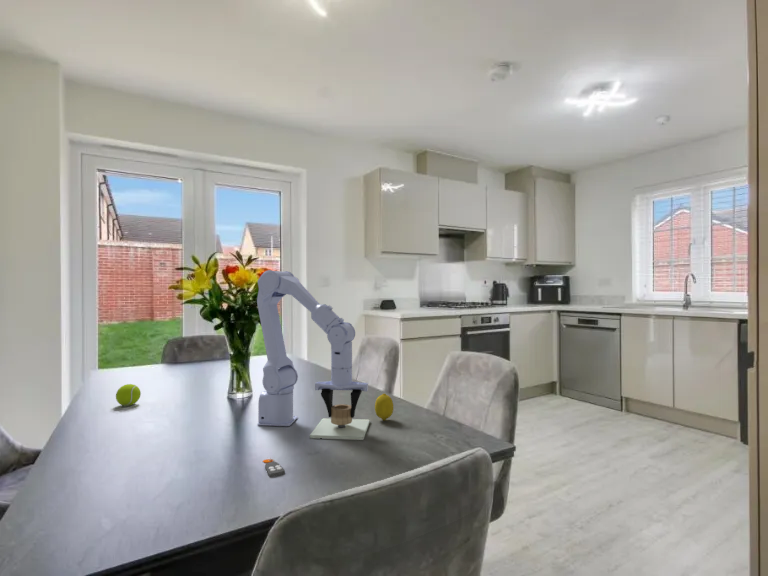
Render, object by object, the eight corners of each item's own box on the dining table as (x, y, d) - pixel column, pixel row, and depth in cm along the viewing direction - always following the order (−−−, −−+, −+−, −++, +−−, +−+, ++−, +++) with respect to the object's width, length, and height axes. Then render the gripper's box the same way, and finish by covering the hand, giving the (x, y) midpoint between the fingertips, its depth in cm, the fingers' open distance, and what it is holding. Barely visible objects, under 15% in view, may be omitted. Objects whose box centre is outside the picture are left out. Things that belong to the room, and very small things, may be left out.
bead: (329, 424, 112) (329, 409, 112) (333, 418, 118) (333, 404, 118) (349, 425, 111) (349, 410, 111) (353, 418, 117) (353, 404, 117)
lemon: (391, 424, 119) (391, 396, 119) (372, 422, 120) (372, 395, 120) (394, 418, 125) (395, 391, 125) (377, 417, 126) (377, 390, 126)
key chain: (287, 475, 88) (287, 468, 88) (269, 480, 86) (269, 472, 86) (271, 454, 99) (270, 448, 99) (255, 457, 97) (255, 451, 97)
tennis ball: (144, 402, 142) (144, 381, 142) (133, 408, 135) (133, 386, 135) (124, 402, 141) (123, 382, 141) (111, 408, 134) (111, 387, 134)
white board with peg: (310, 438, 108) (310, 418, 108) (322, 420, 122) (322, 403, 122) (363, 439, 107) (363, 420, 107) (369, 422, 121) (369, 405, 121)
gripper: (312, 369, 111) (312, 420, 111) (365, 370, 110) (365, 421, 110) (318, 364, 118) (318, 412, 118) (369, 365, 117) (369, 413, 117)
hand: (341, 416), depth 115 cm, fingers closed on bead, 5 cm apart
